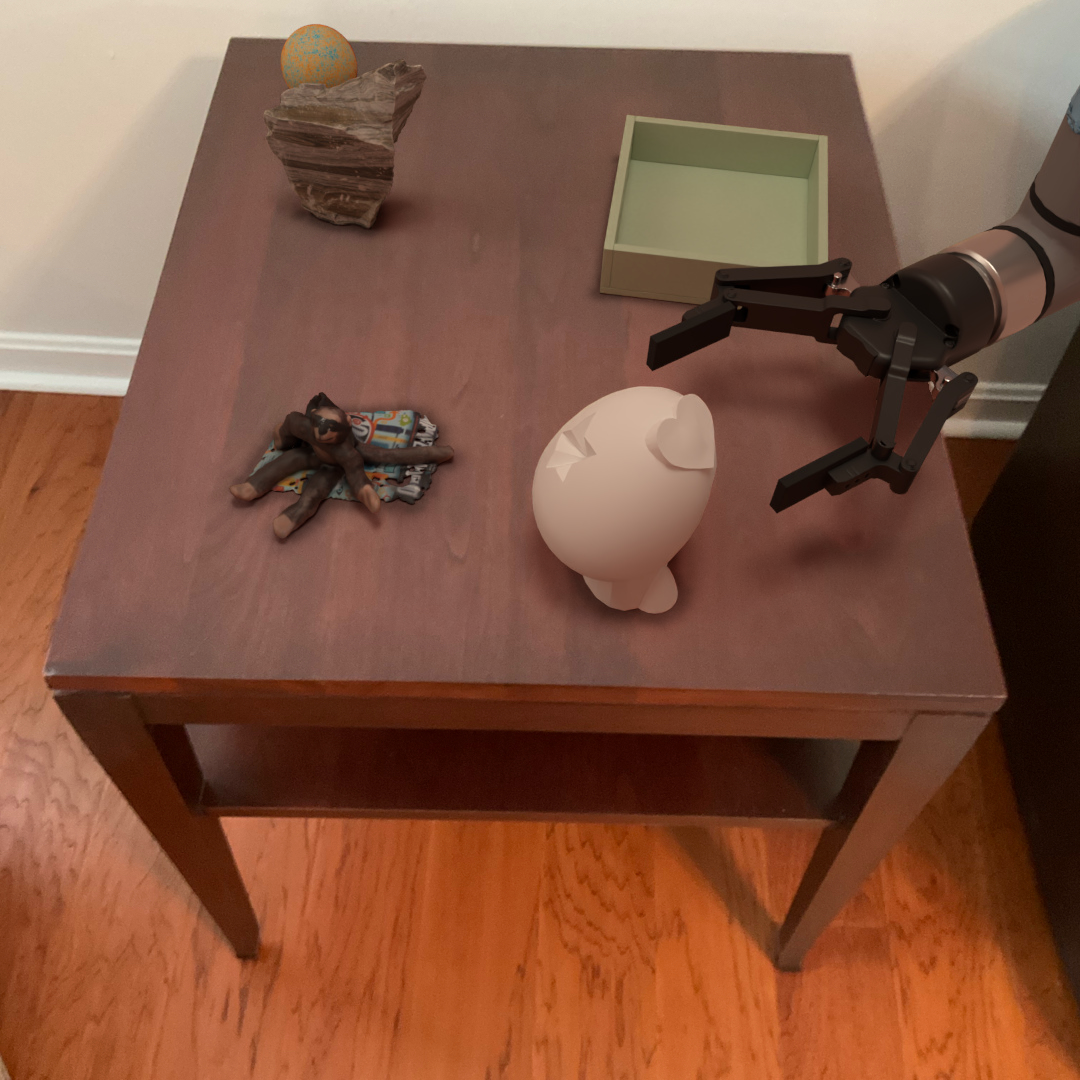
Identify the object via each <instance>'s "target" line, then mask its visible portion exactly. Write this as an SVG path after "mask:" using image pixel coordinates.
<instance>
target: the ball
mask: <svg viewBox="0 0 1080 1080" xmlns="http://www.w3.org/2000/svg"><path fill="white" fill-rule="evenodd" d="M280 70H281V74H282V77H283V80H284V83H285V85H286V86H287V88H288V89H291V88H295V87H299V85H300V84H301V83H313V84H319V83H321V84H326V85H325V86H326V88H327V89H330V88H332V87H335V86H338V85H341V84H343V83H344V82H346V81H348V80H350V79H354V78H357V77H358V61H357V56H356V53H355V50H354V49H353V47H352V45H351V43H350V42H349V40H348V39H347V38H346V37H345V36H344V35H343V34H342V33H341V32H339V31H338V30H336V28H333V27H331V26H329V25H325V24H321V23H311V24H310V23H309V24H307V25H304V26H300V27H299V28H297V29H296V30H294V31H293V32H292V33H291V34H290V35H289V36H288V37H287V38H286V40H285V43H284V44H283V47H282V49H281V54H280Z"/></svg>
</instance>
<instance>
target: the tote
mask: <svg viewBox="0 0 1080 1080" xmlns="http://www.w3.org/2000/svg"><path fill="white" fill-rule="evenodd" d="M625 116H626V117H625V122H624V128H623V135H622V140H621V145H620V152H619V157H618V162H617V169H616V173H615V179H614V185H613V190H612V191H613V192H612V198H611V203H610V209H609V214H608V220H607V224H606V225H607V226H606V232H605V237H604V242H603V250H602V261H601V273H600V286H599V293H600V294H607V295H615V296H622V297H623V296H624V297H632V298H633V297H634V298H640V299H650V300H657V301H664V302H665V301H666V302H674V303H682V304H683V303H684V304H692V305H698V306H699V305H702V304H704V303H706V302H708V301H710V297H711V292H712V287H713V283H714V278H715V273H716V271H717V270H719V269H728V268H750V267H773V266H795V265H818V264H822V263H825V262H828V261H829V136H828V135H823V134H813V133H804V132H795V131H785V130H775V129H766V128H757V127H747V126H745V127H744V126H740V125H739V126H738V125H729V124H717V123H709V122H699V121H692V120H691V121H690V120H681V119H680V120H679V119H670V118H662V117H661V118H660V117H652V116H642V115H632V114H626V115H625ZM741 308H742V306H738V308H737V310H739V309H741Z"/></svg>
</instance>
